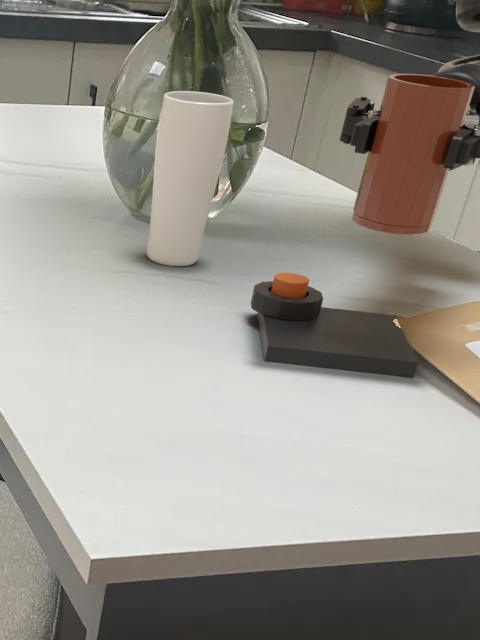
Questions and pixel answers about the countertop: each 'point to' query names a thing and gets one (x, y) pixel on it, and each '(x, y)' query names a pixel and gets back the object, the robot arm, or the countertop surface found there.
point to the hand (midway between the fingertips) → (407, 145)
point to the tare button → (290, 285)
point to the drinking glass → (186, 173)
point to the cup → (410, 152)
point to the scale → (330, 335)
